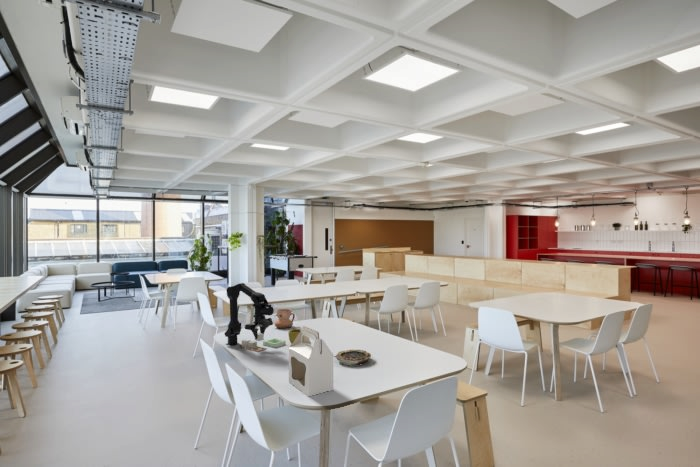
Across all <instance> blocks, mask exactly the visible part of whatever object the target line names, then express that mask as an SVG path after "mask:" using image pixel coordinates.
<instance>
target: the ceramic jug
mask: <svg viewBox="0 0 700 467" xmlns="http://www.w3.org/2000/svg"><path fill="white" fill-rule="evenodd" d="M275 311H276V313H274V314H273V317H277V318H278V319H277V320H276V321H275V322H274V326H275V327H276V328H278V329H289V328H291V327H292V326H293V325H294V323H293V322H294V320H295V313H294V312H292V311H293V310H292V309H291V308H278V309H276V310H275ZM291 316H292V318H291ZM290 318H291V319H290Z"/></svg>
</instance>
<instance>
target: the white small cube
mask: <svg viewBox="0 0 700 467" xmlns="http://www.w3.org/2000/svg"><path fill="white" fill-rule="evenodd" d="M257 346H258V341H256V340H255V341H254V340H250V342H248V348H249V349H255V348H257Z"/></svg>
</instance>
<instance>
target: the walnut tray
mask: <svg viewBox="0 0 700 467" xmlns="http://www.w3.org/2000/svg"><path fill="white" fill-rule="evenodd" d="M237 348H240V349H243V350H244V349H245V350H249V351H252V352H256V353H260V352H262V351H266V350H268V348H266V347H262V346H258V345H257V348H255V349H249V348H248V347H246V348H245V347H242V344H241V345H238V347H237Z"/></svg>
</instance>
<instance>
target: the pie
mask: <svg viewBox="0 0 700 467" xmlns="http://www.w3.org/2000/svg"><path fill="white" fill-rule="evenodd" d="M371 356H372V353H370V352H367V351H366V350H364V349H347V350H342V351H341V350H340V351H338V353H337V354H336V355H333V357H334V358H335V359H337V361H339V362H340V364H341V363H342V364H341V365H344V364H346V365H345V366H348V365H350V366H349V367H353V366H352V365H359V366H361V365H360V364H363V365H365V364H364V363H366V362H368V361H369V362H370V360H369V359H371V358H370V357H371ZM369 362H368V363H369ZM366 364H367V363H366Z"/></svg>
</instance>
